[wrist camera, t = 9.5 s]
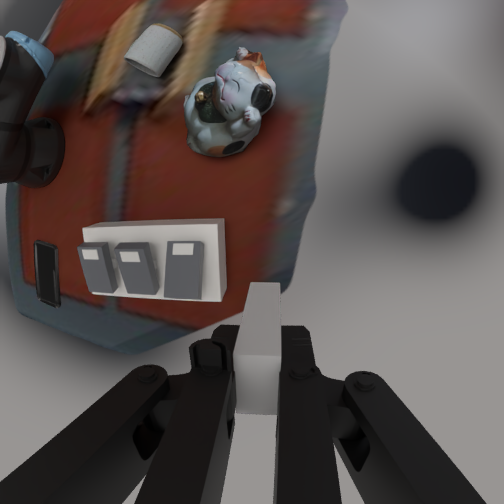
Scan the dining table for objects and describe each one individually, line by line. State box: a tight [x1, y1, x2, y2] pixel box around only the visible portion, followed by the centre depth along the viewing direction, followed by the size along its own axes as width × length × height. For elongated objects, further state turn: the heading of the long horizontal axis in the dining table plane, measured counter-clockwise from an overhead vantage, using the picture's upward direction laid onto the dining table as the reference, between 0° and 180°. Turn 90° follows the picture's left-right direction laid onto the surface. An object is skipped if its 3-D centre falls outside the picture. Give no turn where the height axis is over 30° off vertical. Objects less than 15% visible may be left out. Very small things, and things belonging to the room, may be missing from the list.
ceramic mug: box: [124, 24, 183, 77], centre depth 37 cm, size 11×8×8 cm
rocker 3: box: [164, 241, 204, 300], centre depth 40 cm, size 8×5×2 cm, turn 1°
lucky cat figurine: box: [184, 47, 276, 157], centre depth 37 cm, size 15×12×14 cm
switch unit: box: [83, 218, 227, 302], centre depth 46 cm, size 24×12×8 cm, turn 91°
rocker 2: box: [114, 242, 160, 295], centre depth 41 cm, size 8×5×2 cm, turn 1°
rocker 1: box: [77, 242, 118, 294], centre depth 41 cm, size 8×5×2 cm, turn 1°
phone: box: [34, 240, 61, 308], centre depth 53 cm, size 8×1×15 cm
